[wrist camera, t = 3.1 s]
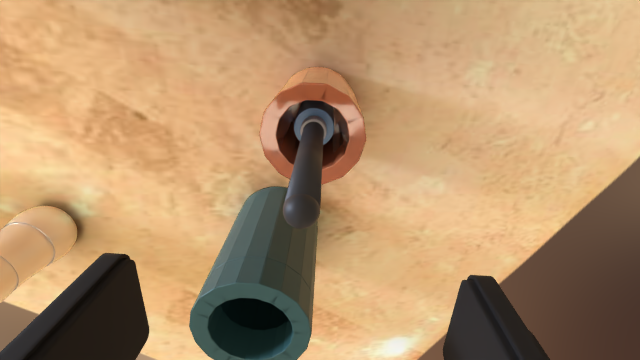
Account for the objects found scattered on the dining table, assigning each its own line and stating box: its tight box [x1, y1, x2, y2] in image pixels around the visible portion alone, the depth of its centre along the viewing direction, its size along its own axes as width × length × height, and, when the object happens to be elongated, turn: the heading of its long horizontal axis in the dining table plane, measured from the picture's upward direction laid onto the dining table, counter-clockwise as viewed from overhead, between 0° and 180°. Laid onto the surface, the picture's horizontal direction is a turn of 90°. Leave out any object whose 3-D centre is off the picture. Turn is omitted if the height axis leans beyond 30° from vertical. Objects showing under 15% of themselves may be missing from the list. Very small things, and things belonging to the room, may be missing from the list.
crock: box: [259, 67, 366, 184], centre depth 29 cm, size 8×8×11 cm
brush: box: [283, 100, 334, 229], centre depth 24 cm, size 3×3×22 cm
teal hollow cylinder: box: [189, 187, 318, 360], centre depth 33 cm, size 9×9×16 cm
